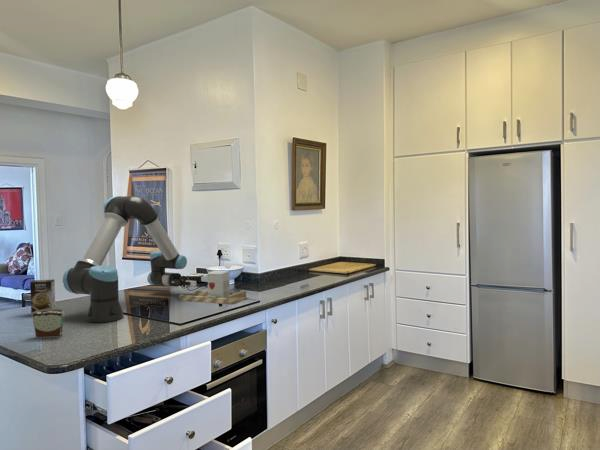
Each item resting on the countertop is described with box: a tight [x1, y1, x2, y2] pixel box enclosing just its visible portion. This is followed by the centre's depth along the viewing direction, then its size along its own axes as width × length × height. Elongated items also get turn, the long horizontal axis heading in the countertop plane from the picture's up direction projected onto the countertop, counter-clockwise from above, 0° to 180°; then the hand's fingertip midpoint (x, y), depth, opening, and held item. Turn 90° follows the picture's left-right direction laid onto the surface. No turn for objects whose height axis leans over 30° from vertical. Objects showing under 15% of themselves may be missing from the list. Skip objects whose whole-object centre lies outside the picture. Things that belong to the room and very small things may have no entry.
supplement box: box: [207, 270, 231, 298], centre depth 235 cm, size 9×9×15 cm
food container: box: [30, 308, 66, 339], centre depth 175 cm, size 12×6×10 cm, turn 92°
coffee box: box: [29, 279, 56, 315], centre depth 210 cm, size 9×6×16 cm
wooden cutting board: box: [179, 289, 247, 305], centre depth 239 cm, size 32×20×4 cm, turn 66°
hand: (203, 281), depth 239 cm, fingers open, 13 cm apart
